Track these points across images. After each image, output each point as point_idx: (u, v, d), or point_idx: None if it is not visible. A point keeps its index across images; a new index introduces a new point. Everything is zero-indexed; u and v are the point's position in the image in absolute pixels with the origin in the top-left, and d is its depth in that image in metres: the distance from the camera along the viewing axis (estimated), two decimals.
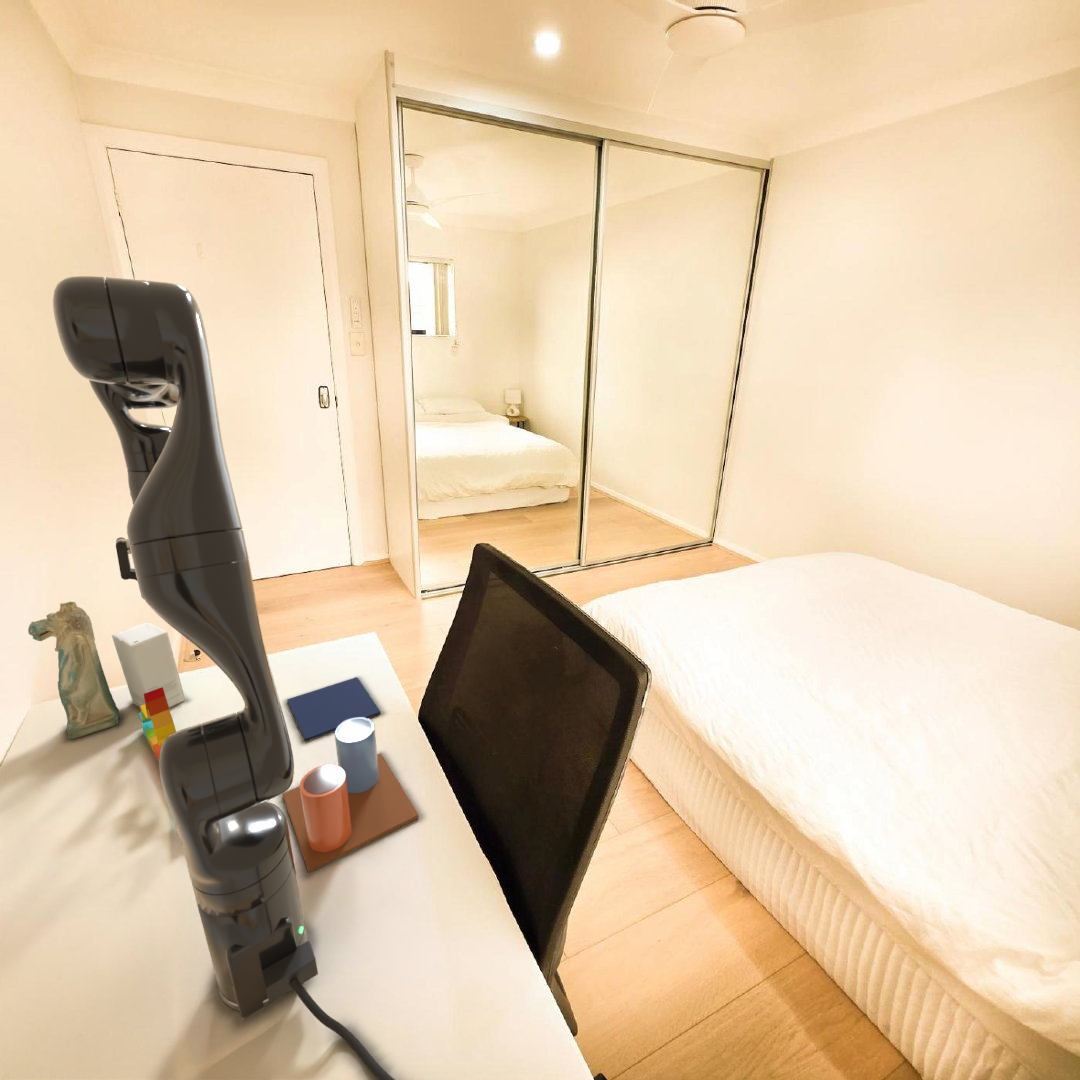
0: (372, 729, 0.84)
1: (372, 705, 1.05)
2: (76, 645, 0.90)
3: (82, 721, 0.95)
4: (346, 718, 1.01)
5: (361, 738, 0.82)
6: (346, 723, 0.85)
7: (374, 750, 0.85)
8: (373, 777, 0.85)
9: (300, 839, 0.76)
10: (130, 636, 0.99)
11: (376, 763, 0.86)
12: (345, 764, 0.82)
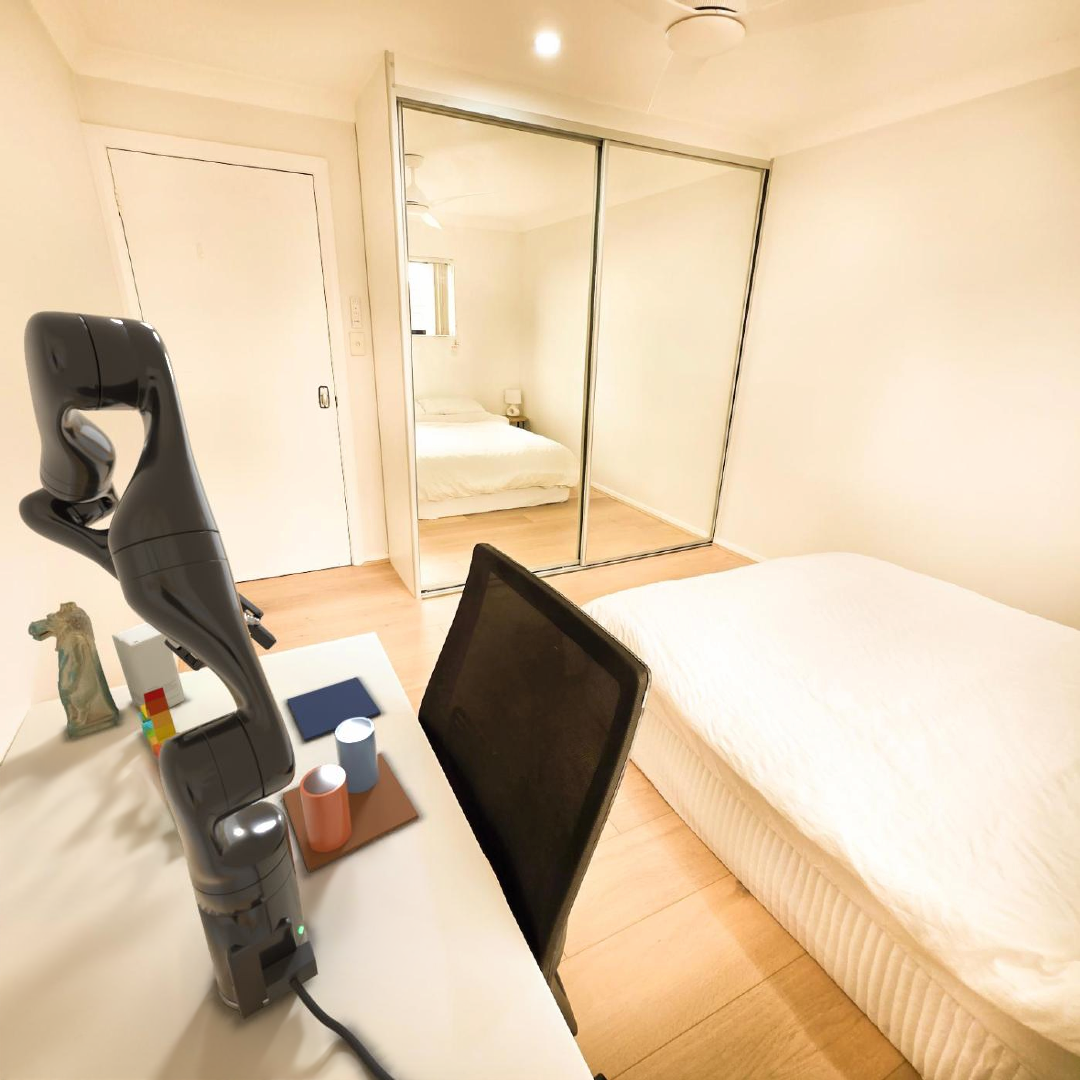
0: (372, 729, 0.84)
1: (372, 705, 1.05)
2: (76, 645, 0.90)
3: (82, 721, 0.95)
4: (346, 718, 1.01)
5: (361, 738, 0.82)
6: (346, 723, 0.85)
7: (374, 750, 0.85)
8: (373, 777, 0.85)
9: (300, 839, 0.76)
10: (130, 636, 0.99)
11: (376, 763, 0.86)
12: (345, 764, 0.82)
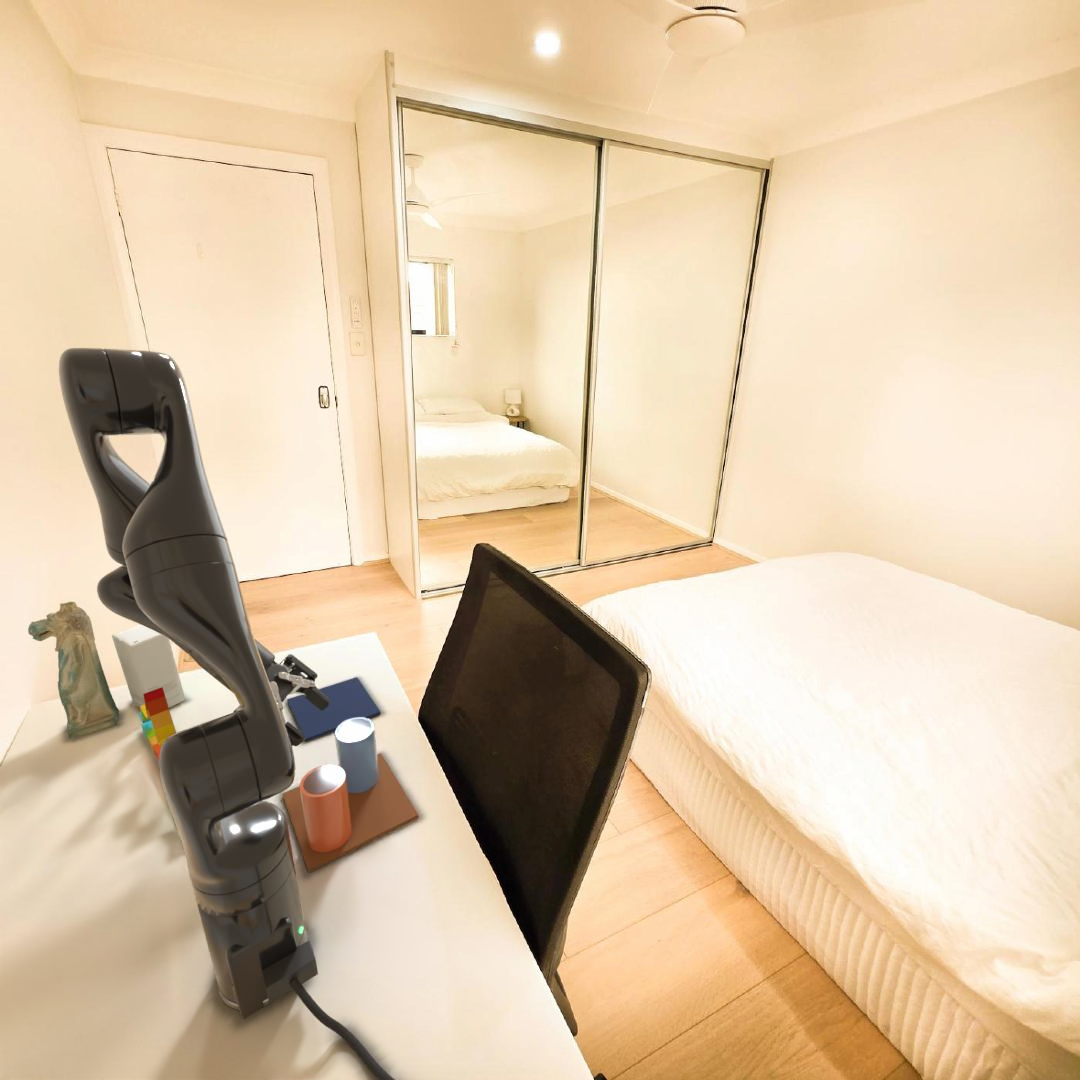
0: (372, 729, 0.84)
1: (372, 705, 1.05)
2: (76, 645, 0.90)
3: (82, 721, 0.95)
4: (346, 718, 1.01)
5: (361, 738, 0.82)
6: (346, 723, 0.85)
7: (374, 750, 0.85)
8: (373, 777, 0.85)
9: (300, 839, 0.76)
10: (130, 636, 0.99)
11: (376, 763, 0.86)
12: (345, 764, 0.82)
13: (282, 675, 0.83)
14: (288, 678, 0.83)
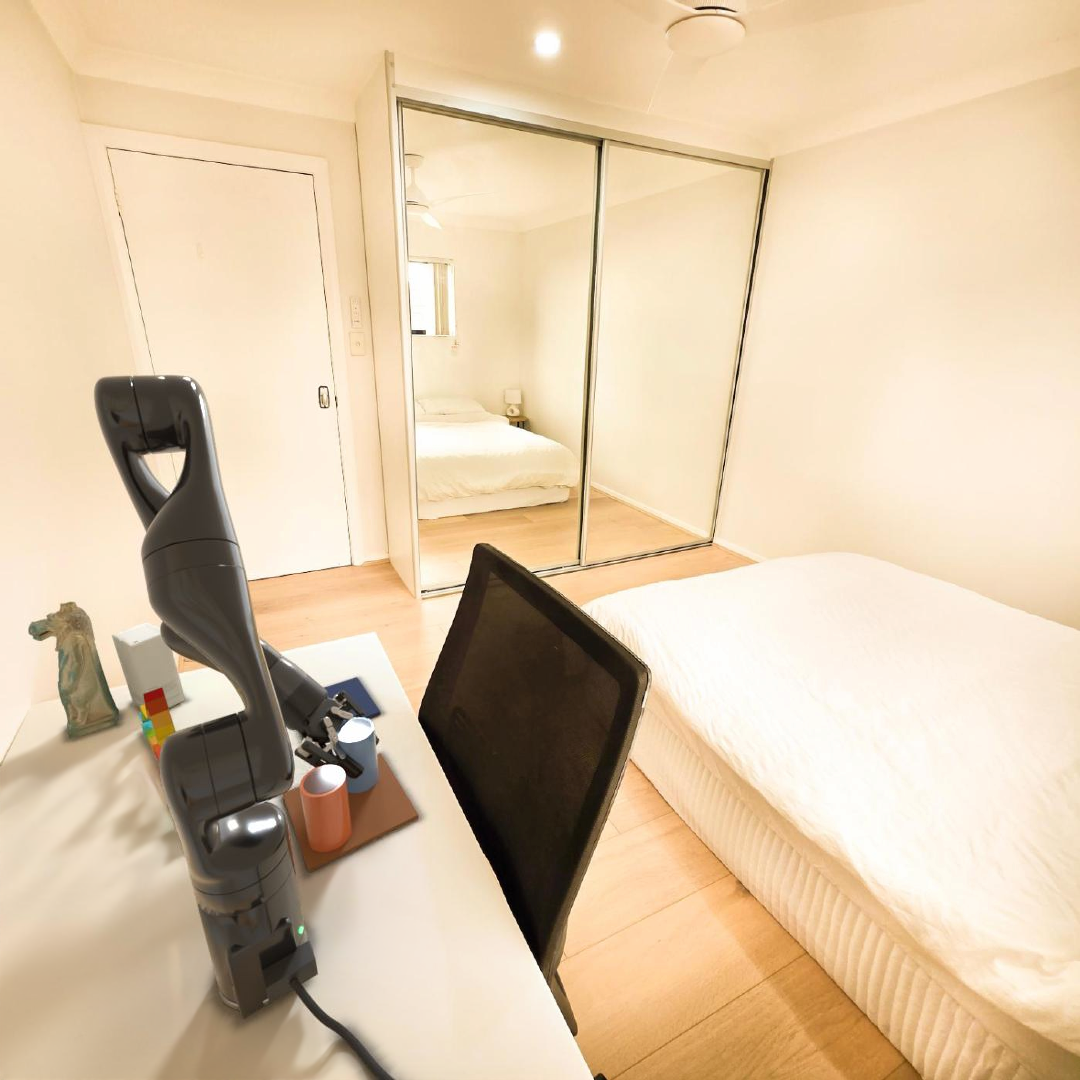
0: (372, 729, 0.84)
1: (372, 705, 1.05)
2: (76, 645, 0.90)
3: (82, 721, 0.95)
4: None
5: (361, 738, 0.82)
6: (346, 723, 0.85)
7: (374, 750, 0.85)
8: (373, 777, 0.85)
9: (300, 839, 0.76)
10: (130, 636, 0.99)
11: (376, 763, 0.86)
12: None
13: (334, 710, 0.84)
14: (339, 714, 0.85)
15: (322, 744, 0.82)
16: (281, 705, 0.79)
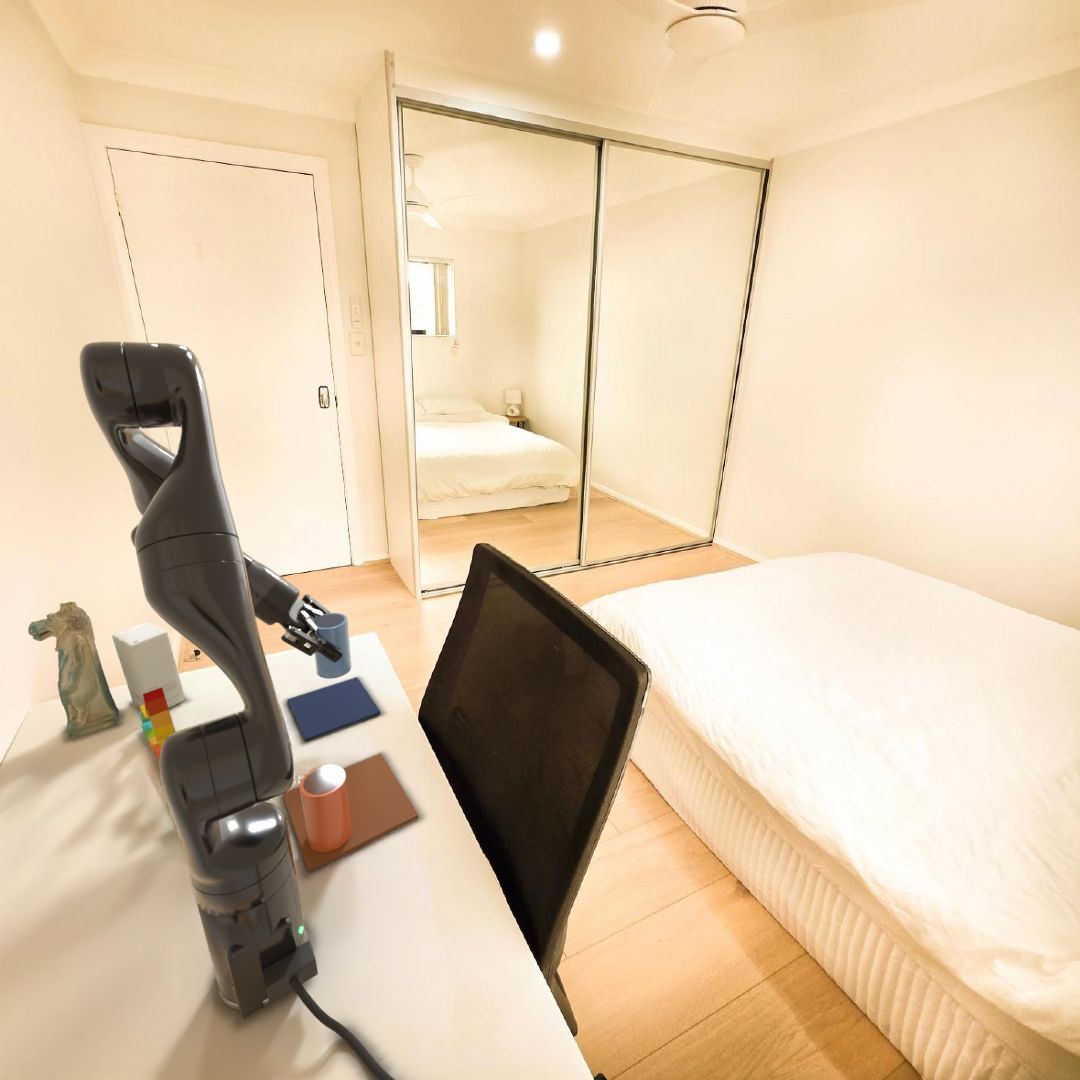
0: (345, 619, 0.94)
1: (372, 705, 1.05)
2: (76, 645, 0.90)
3: (82, 721, 0.95)
4: (346, 718, 1.01)
5: (338, 625, 0.92)
6: (319, 617, 0.94)
7: (348, 638, 0.95)
8: (348, 663, 0.96)
9: (300, 839, 0.76)
10: (130, 636, 0.99)
11: None
12: None
13: (307, 606, 0.93)
14: (312, 610, 0.94)
15: None
16: (262, 599, 0.86)
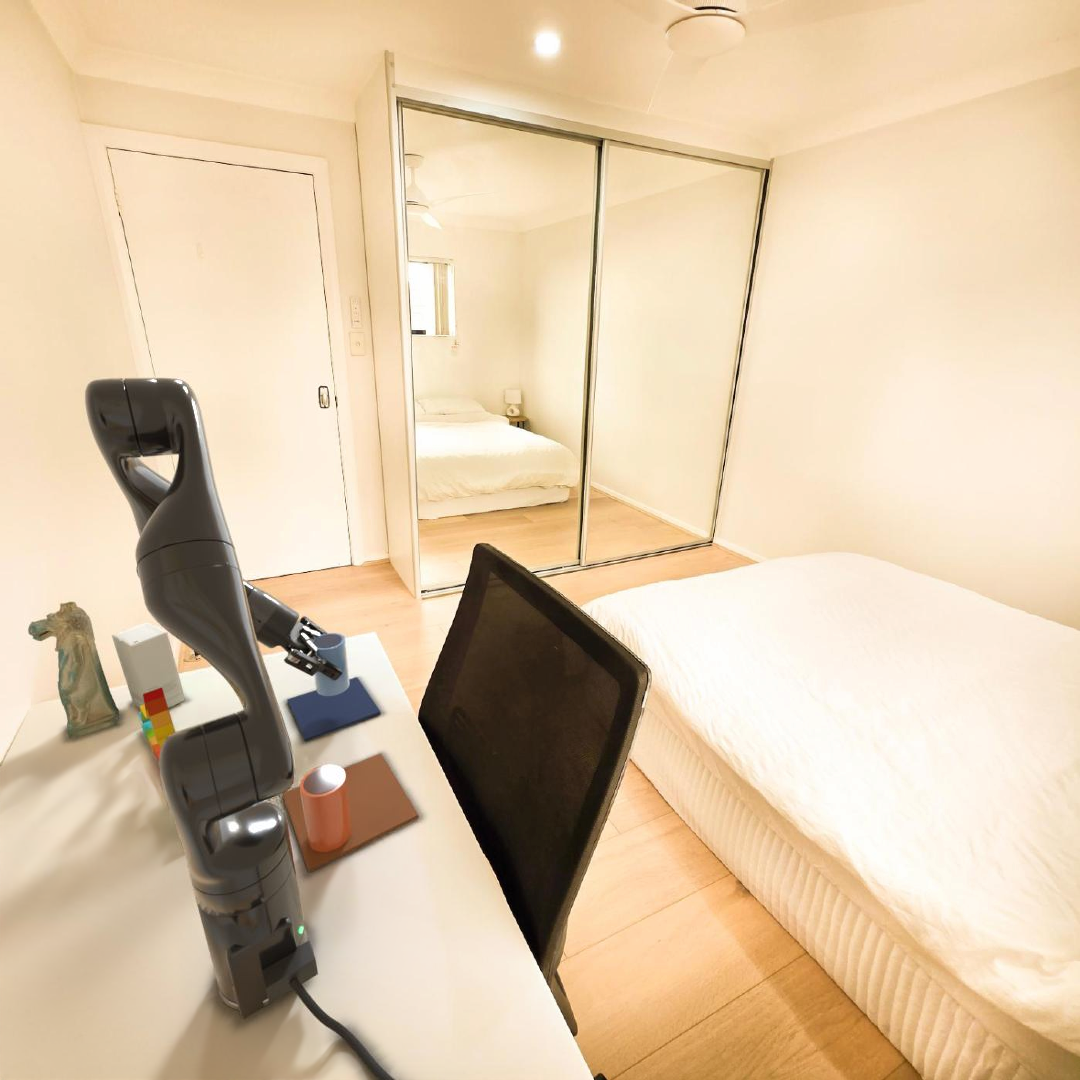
0: (343, 638, 0.99)
1: (372, 705, 1.05)
2: (76, 645, 0.90)
3: (82, 721, 0.95)
4: (346, 718, 1.01)
5: (337, 645, 0.97)
6: (317, 638, 0.99)
7: (346, 656, 1.00)
8: (347, 680, 1.01)
9: (300, 839, 0.76)
10: (130, 636, 0.99)
11: (347, 669, 1.01)
12: None
13: (306, 628, 0.98)
14: (310, 631, 0.98)
15: None
16: (265, 624, 0.90)
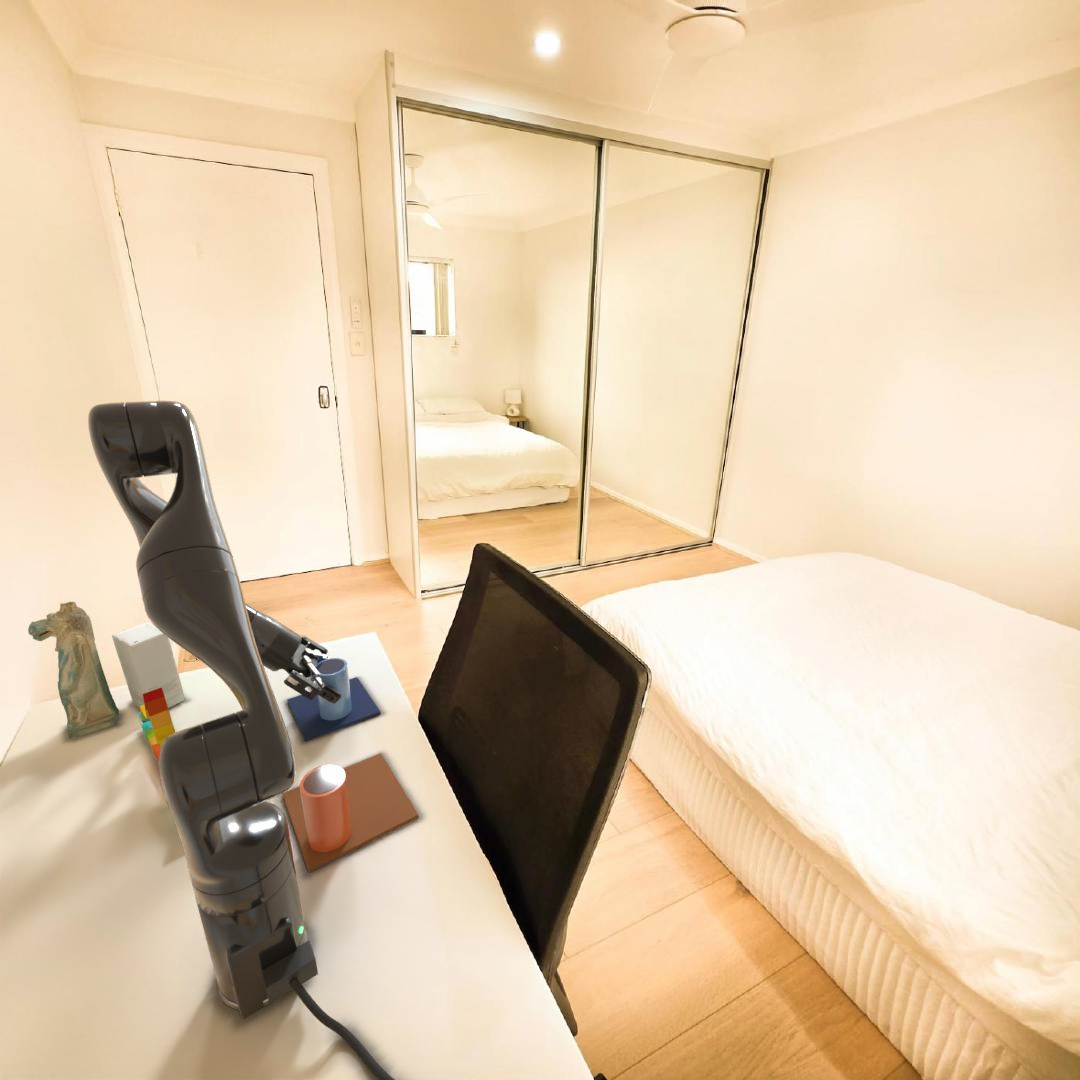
0: (346, 664, 1.01)
1: (372, 705, 1.05)
2: (76, 645, 0.90)
3: (82, 721, 0.95)
4: (346, 718, 1.01)
5: (339, 670, 0.99)
6: (320, 663, 1.01)
7: None
8: (349, 704, 1.02)
9: (300, 839, 0.76)
10: (130, 636, 0.99)
11: (350, 693, 1.03)
12: None
13: (308, 650, 0.99)
14: (312, 653, 1.00)
15: None
16: (268, 648, 0.92)
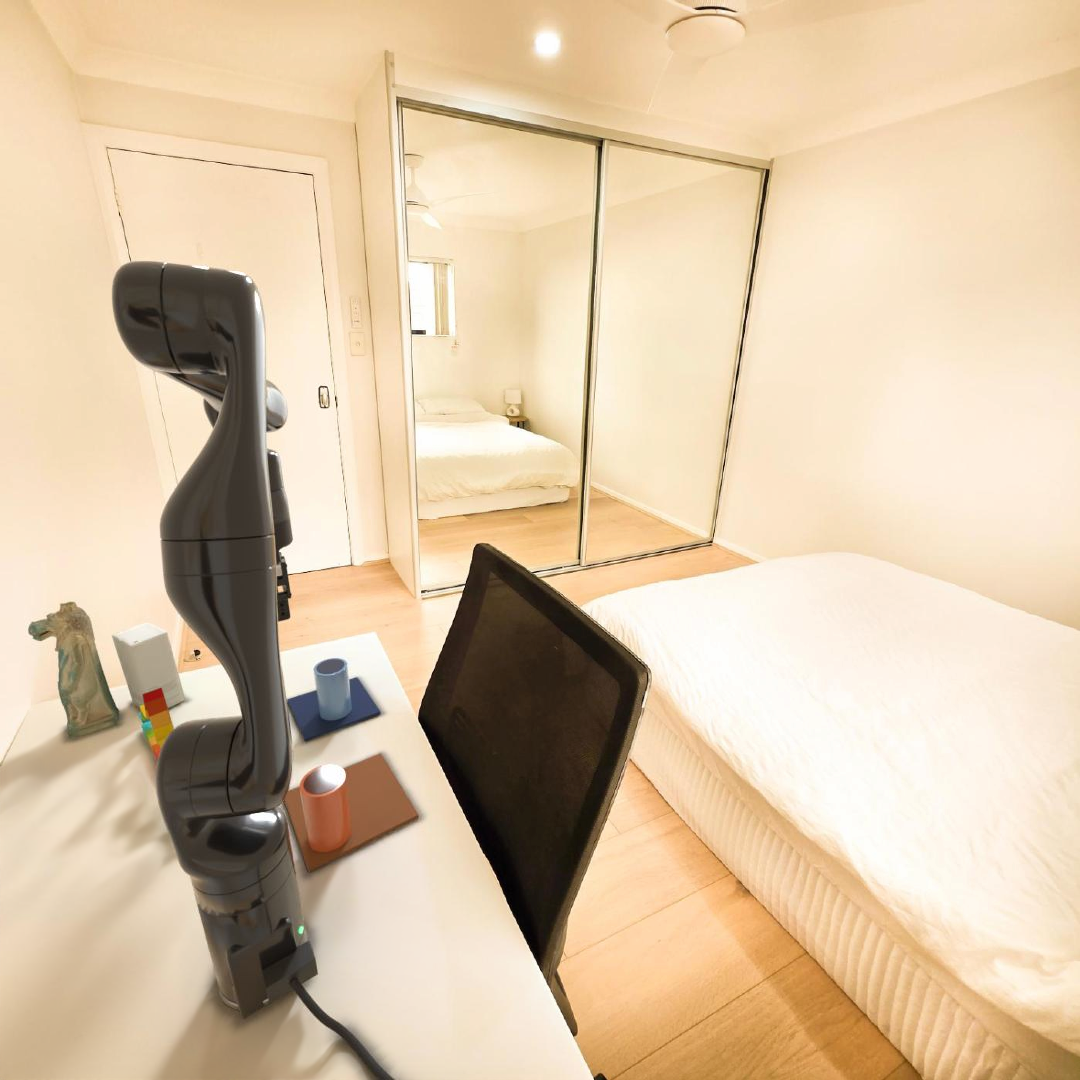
0: (346, 664, 1.01)
1: (372, 705, 1.05)
2: (76, 645, 0.90)
3: (82, 721, 0.95)
4: (346, 718, 1.01)
5: (339, 670, 0.99)
6: (320, 663, 1.01)
7: None
8: (349, 704, 1.02)
9: (300, 839, 0.76)
10: (130, 636, 0.99)
11: (350, 693, 1.03)
12: (327, 695, 0.99)
13: None
14: None
15: None
16: (275, 524, 0.81)
